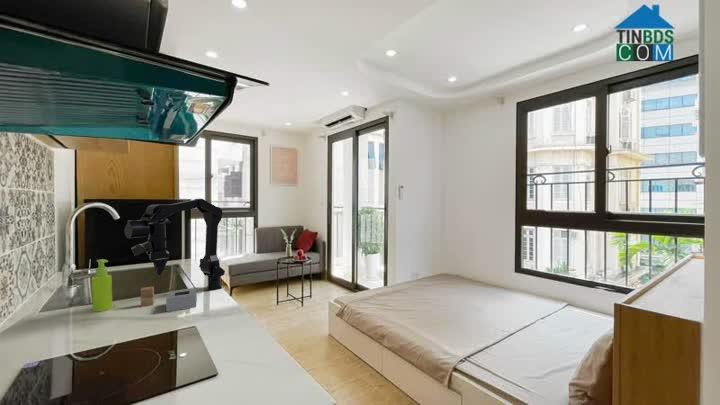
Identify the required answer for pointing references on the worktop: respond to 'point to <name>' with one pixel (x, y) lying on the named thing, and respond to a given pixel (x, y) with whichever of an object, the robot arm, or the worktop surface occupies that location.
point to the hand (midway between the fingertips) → (158, 273)
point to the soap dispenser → (102, 288)
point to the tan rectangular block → (147, 296)
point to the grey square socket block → (181, 299)
